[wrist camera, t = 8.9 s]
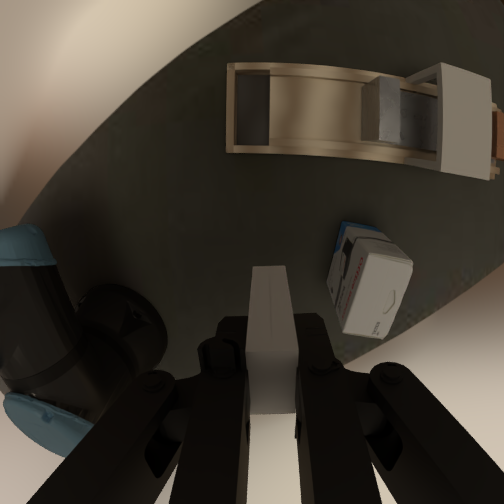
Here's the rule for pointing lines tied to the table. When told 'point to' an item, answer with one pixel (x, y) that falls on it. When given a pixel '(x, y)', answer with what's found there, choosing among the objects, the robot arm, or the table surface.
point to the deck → (309, 112)
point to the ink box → (367, 280)
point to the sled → (410, 118)
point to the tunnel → (459, 121)
